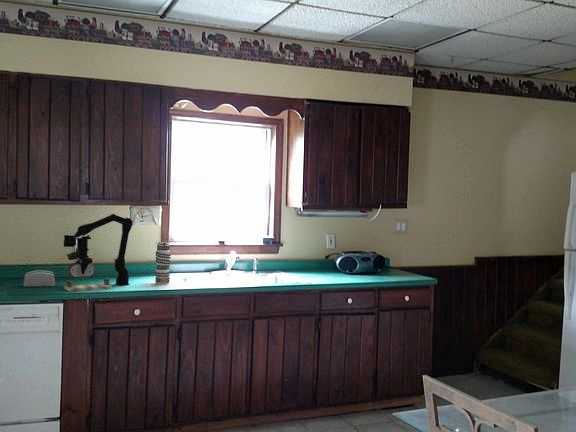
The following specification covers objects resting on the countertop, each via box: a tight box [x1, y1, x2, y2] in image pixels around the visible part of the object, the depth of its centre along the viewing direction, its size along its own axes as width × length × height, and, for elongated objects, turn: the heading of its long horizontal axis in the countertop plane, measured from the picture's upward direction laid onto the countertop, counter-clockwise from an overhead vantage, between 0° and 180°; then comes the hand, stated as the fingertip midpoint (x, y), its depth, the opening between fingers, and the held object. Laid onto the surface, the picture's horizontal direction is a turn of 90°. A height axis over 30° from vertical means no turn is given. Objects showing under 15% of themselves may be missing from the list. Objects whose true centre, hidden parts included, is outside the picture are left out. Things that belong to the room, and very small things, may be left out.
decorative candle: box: [154, 241, 172, 286], centre depth 377 cm, size 9×9×25 cm
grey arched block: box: [22, 269, 56, 287], centre depth 355 cm, size 17×5×10 cm, turn 113°
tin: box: [67, 262, 96, 278], centre depth 360 cm, size 15×3×8 cm, turn 125°
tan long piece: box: [63, 277, 113, 292], centre depth 351 cm, size 24×9×5 cm, turn 125°
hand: (81, 273), depth 361 cm, fingers closed on tin, 3 cm apart
